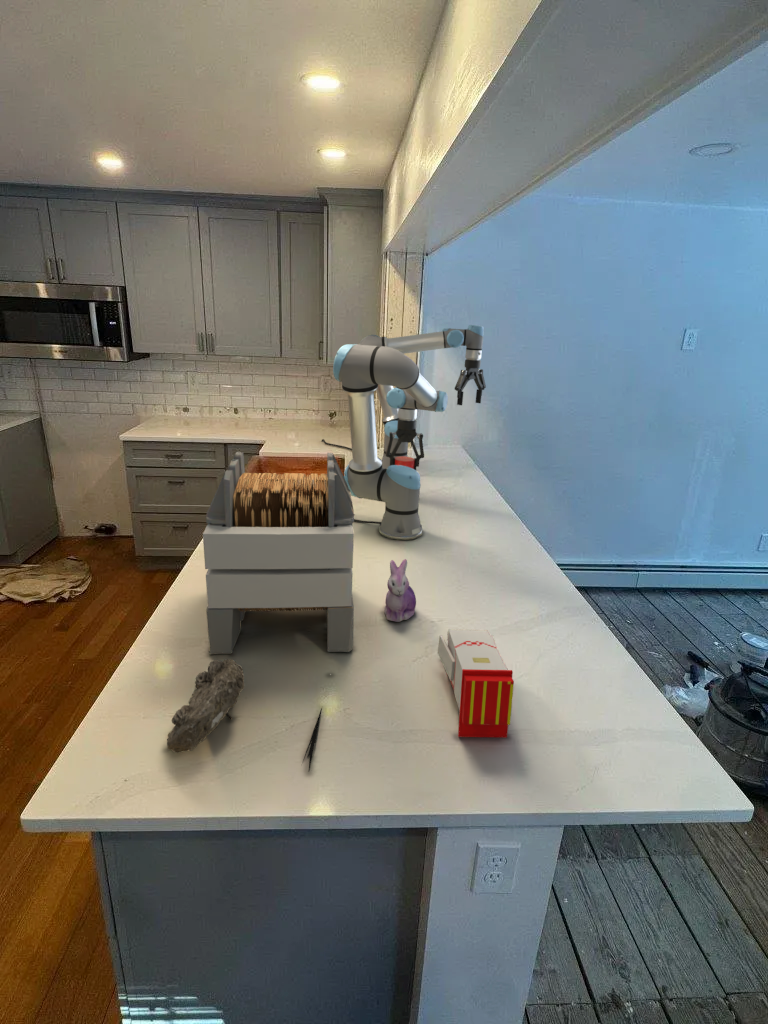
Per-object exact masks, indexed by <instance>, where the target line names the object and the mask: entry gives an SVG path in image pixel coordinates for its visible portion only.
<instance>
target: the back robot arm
mask: <svg viewBox="0 0 768 1024" xmlns="http://www.w3.org/2000/svg"><path fill="white" fill-rule="evenodd" d="M484 330H485V328H484V326H483V325H478V324H477V325H475V324H469V325H468V326H467V328H451V327H449V328H448V327H447V328H443V329H442V331H435V332H427V333H419V334H412V335H403V336H397V337H387V336H379V335H377V334H368V335H367V336H364V337H363V338H362V339H361V340H360V341H359V343H358V345H369V346H385V347H390V348H393V349H396V350H398V351H400V352H401V353H403V354H405V355H406V354H411V353H419V352H428V351H435V350H442V349H451V348H453V349H456V348H460V347H464V346H465V347H466V348H465V354H464V355H465V356H464V358H465V359H464V360H465V361H464V368H465V369H460V374H459V376H458V379H457V381H456V384H455V386H454V390H455V391H456V392H457V395H456V398H457V400H456V405H457V406H463V402H464V401H463V400H464V391H463V390H464V389H465V387H466V386H467V384H468V382H469V381H471V380H473V381H474V383H475V385H476V387H477V388H476V393H475V404H482V396H483V391H484V390H485V389H486V387H487V386H486V382H485V376H484V369H482V368H481V366H482V365H481V364H482V361H481V359H482V355H483V353H482V351H483V344H484V332H485V331H484ZM393 388H394V386H389V385H378V388H377V389H376V390H375V392H376V395H377V398H378V401H379V404H380V408H381V411H382V413H383V418H382V420H381V421H382V424H383V431H384V433H383V437H384V438H383V455H382V458H381V461H382V468H385V469H387V468H388V467H389V466H390V458H389V457H386V451H387V447H388V443H389V439H390V436H389V433H390V432H392V433H393V432H396V431H397V424H398V419H399V418H398V409H395V408H392V407H390V406H389V405H388V403H387V400H386V397H387V394H388V392H389V391H390V390H391V389H393ZM398 439H399V438H398V437H397V435H395V437H394V438H393V441H392V445H391V449H390V453H389V454H391V453H392V451H393V449H394V447H395V445H396V443H397V441H398ZM320 442H321V443H322V442H323V443H324V444H325V445H327V446H332V447H337V448H341V449H347V450H349V451H352V447H347V446H345V445H339V444H335V443H329V442H326V440H325V439H324V438H323V439H321V441H320ZM408 452H409V443H408V442H401V444H400V446H399V448H398V450H397V451H396V453H395V455H394V458H396V457H409V456H408Z"/></svg>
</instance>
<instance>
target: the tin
mask: <svg viewBox="0 0 768 1024" xmlns="http://www.w3.org/2000/svg"><path fill="white" fill-rule="evenodd" d="M414 458H415V457H411V456H408V457H396V458H395V465H398V466H399V465H402V466H407V467H410V468H412V469H414V464H415V459H414Z"/></svg>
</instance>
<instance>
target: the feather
mask: <svg viewBox="0 0 768 1024" xmlns="http://www.w3.org/2000/svg"><path fill="white" fill-rule="evenodd" d="M329 675H330V676H331V675H332V674H331V673H330V674H329ZM322 710H323V707H321V708H320V710H319V713H318V716H317V719H316V723H315V725H314V728H313V731H312V733H311V737H310V739H309V742H308V745H307V748H306V751H305V754H304V757H303V760H302V763H301V767H302V765H303V763H304V761H305V758H308V759H309V760H308V762H307V763H308V764H307V766H308V771H310V770H311V766H312V765H311V764H312V760H313V757H315V756H314V755H315V751H316V749H315V746H317V739H318V733H319V729H320V722H321V717H322V712H323V711H322ZM313 754H314V755H313ZM306 755H307V757H306Z"/></svg>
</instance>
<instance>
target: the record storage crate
mask: <svg viewBox="0 0 768 1024" xmlns="http://www.w3.org/2000/svg"><path fill="white" fill-rule="evenodd" d="M244 455H245V454H244V451H242V452H241V451H236V452H235V454H234V456H233V458H232V459H230V463H229V465H228V467H227V469H226V470H224V473H223V475H222V478H221V479H220V482H219V484H218V487H217V489H216V491H215V494H214V495H213V497H212V500H211V502H210V505H209V507H208V509H207V511H206V515H205V523H206V524H207V525H206V527H205V529H204V531H203V533H202V543H203V558H204V569H205V570H206V573H205V584H206V587H205V588H206V598H207V599H206V601H207V607H206V623H207V634H208V641H209V642H208V643H209V650H208V653H209V655H216V654H217V655H218V654H221V655H222V654H223V655H226V654H227V655H228V654H230V655H231V654H232V653H233V650H234V648H235V647H236V643H237V641H238V638H239V636H240V634H241V630H242V626H241V625H242V623H241V622H243V621H244V618H245V615H246V612H272V611H273V612H279V611H280V612H284V611H286V612H288V611H289V612H291V611H292V612H293V611H294V612H295V611H303V612H304V611H322V610H323V611H326V636H327V637H326V641H327V645H326V646H327V652H329V653H330V652H332V653H333V652H343V653H349V652H351V651H352V650H354V617H355V616H354V614H355V607H354V598H353V575H354V573H353V566H354V563H353V562H354V537H355V536H354V535H355V532H354V527H353V524H354V522H355V521H354V519H355V511H354V506H353V505H354V504H353V500H352V496H351V493H350V492H351V491H350V489H349V487H348V485H347V483H346V481H345V478H344V473H343V472H342V470H341V467H340V465H339V463H338V461H337V459H336V457H335V455H334V453H333V452H327V453H326V456H327V457H326V468H327V469H326V473H320V474H318V473H307V474H306V473H303V472H302V473H299V472H298V473H297V472H294V473H293V472H292V473H291V472H290V473H288V472H283V473H276V472H273V473H271V472H263V473H262V472H259V473H258V472H253V473H252V472H245V468H246V467H245V456H244Z"/></svg>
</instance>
